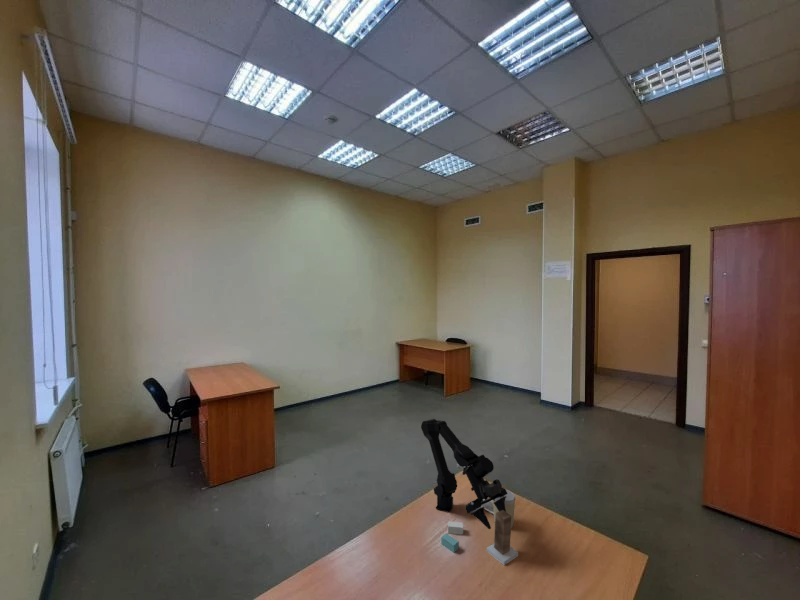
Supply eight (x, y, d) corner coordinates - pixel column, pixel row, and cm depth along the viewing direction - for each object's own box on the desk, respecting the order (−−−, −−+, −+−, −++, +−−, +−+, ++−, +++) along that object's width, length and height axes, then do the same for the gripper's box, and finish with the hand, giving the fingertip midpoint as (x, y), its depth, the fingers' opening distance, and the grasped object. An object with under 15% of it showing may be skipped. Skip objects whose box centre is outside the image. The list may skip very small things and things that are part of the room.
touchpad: (503, 521, 142) (503, 516, 142) (473, 505, 153) (473, 501, 153) (512, 513, 147) (512, 508, 147) (483, 498, 158) (483, 494, 158)
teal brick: (441, 544, 128) (441, 537, 128) (446, 540, 130) (446, 533, 130) (453, 553, 123) (453, 545, 123) (458, 549, 125) (458, 541, 125)
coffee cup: (512, 516, 144) (512, 489, 144) (517, 531, 135) (517, 502, 135) (490, 514, 145) (490, 487, 145) (494, 529, 136) (494, 500, 136)
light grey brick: (448, 533, 134) (448, 526, 134) (447, 528, 137) (448, 521, 137) (463, 535, 133) (463, 527, 133) (462, 529, 136) (462, 522, 136)
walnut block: (494, 547, 124) (495, 512, 124) (501, 543, 126) (503, 509, 126) (502, 554, 121) (504, 519, 121) (509, 550, 123) (511, 516, 123)
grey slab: (486, 553, 124) (486, 547, 124) (500, 544, 129) (500, 539, 129) (504, 567, 118) (504, 561, 118) (518, 557, 122) (518, 552, 122)
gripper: (471, 481, 124) (493, 527, 115) (504, 467, 134) (527, 509, 125) (456, 491, 131) (476, 536, 121) (489, 477, 141) (510, 518, 132)
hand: (498, 524), depth 125 cm, fingers open, 9 cm apart
